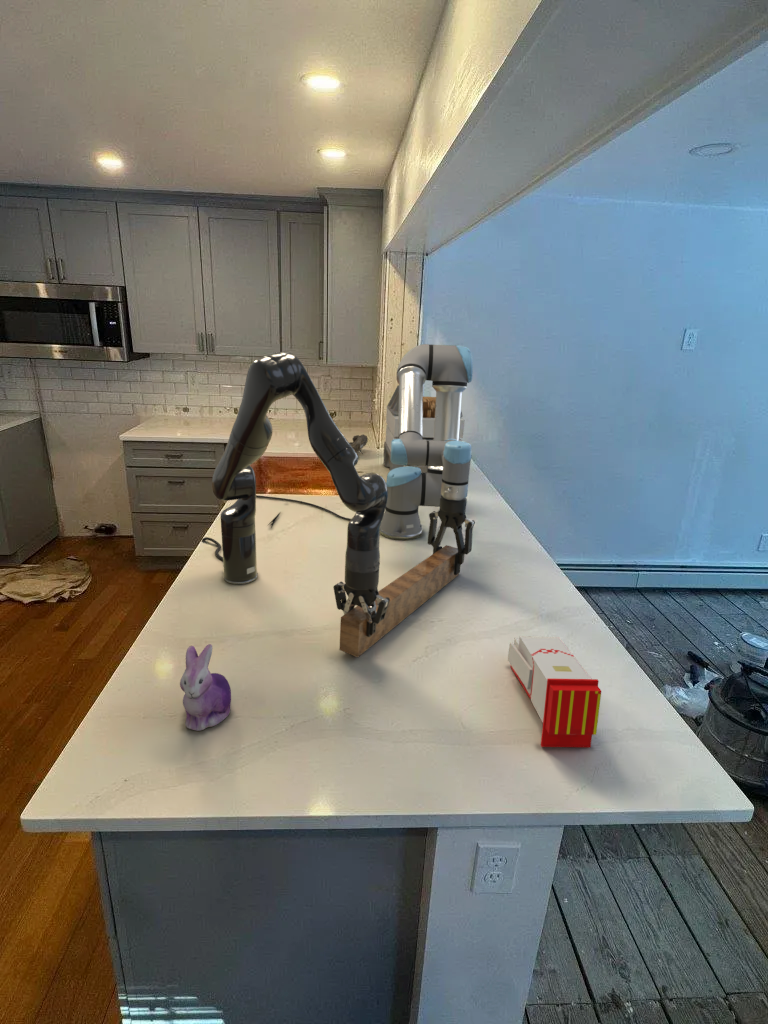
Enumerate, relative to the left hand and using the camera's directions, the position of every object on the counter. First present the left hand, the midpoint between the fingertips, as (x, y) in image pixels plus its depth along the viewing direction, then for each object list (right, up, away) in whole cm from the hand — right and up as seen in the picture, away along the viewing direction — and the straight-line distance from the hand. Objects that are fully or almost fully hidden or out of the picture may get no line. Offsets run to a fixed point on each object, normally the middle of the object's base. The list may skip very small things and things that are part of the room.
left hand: (359, 630), depth 130 cm
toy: (+39, -12, -12) cm, 42 cm away
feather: (-34, +26, +82) cm, 92 cm away
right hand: (+24, +10, +39) cm, 47 cm away
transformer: (+23, +46, +145) cm, 154 cm away
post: (+12, +2, +20) cm, 23 cm away
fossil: (-10, +58, +176) cm, 185 cm away
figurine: (-28, -12, -21) cm, 37 cm away
